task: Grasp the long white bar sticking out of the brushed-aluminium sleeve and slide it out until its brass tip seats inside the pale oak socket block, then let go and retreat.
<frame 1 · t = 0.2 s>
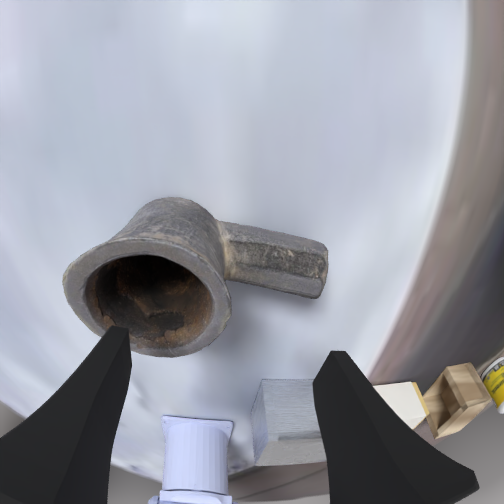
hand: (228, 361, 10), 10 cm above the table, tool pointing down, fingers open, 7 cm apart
socket: (444, 382, 32), on the table
sleeve: (301, 397, 29), on the table
pipe: (214, 227, 19), on the table
long white bar: (351, 416, 28), point 3 cm above the table, slide at 0.0 cm
supplement bottle: (492, 366, 33), on the table
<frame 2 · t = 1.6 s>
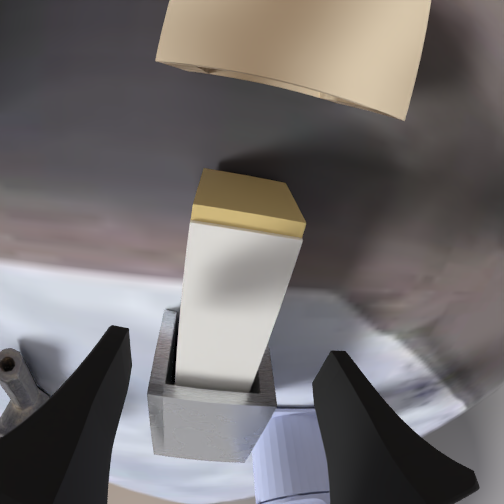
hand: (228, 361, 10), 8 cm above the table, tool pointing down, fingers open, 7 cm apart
socket: (276, 36, 12), on the table
sleeve: (208, 356, 22), on the table
pipe: (31, 380, 24), on the table
long white bar: (216, 337, 17), point 3 cm above the table, slide at 0.0 cm
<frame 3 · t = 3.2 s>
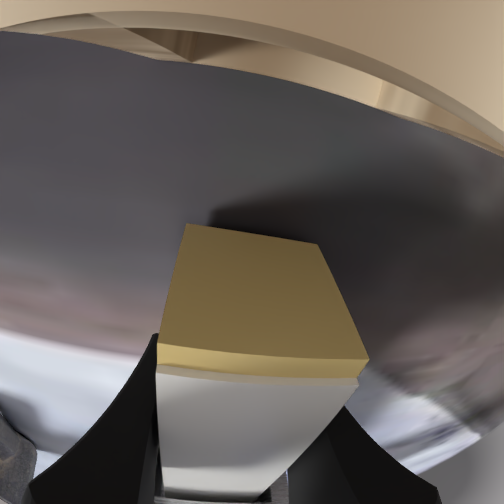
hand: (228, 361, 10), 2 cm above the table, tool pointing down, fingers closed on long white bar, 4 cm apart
socket: (307, 2, 6), on the table
sleeve: (205, 430, 16), on the table
pipe: (11, 425, 18), on the table
long white bar: (214, 437, 11), point 3 cm above the table, slide at 0.0 cm, touching gripper
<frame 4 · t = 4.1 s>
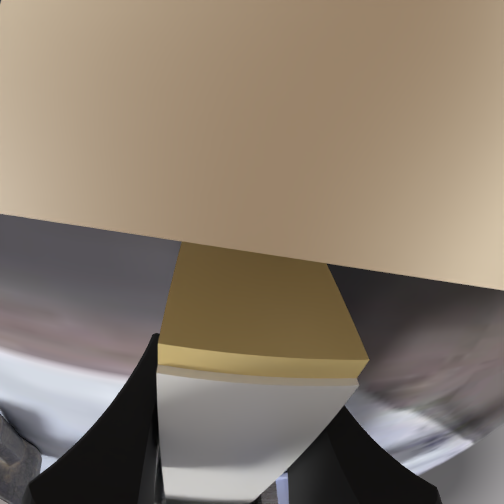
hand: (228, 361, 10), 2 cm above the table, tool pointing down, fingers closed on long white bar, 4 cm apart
socket: (295, 54, 7), on the table
sleeve: (202, 440, 17), on the table
pipe: (17, 431, 19), on the table
long white bar: (214, 437, 11), point 3 cm above the table, slide at 1.7 cm, touching gripper
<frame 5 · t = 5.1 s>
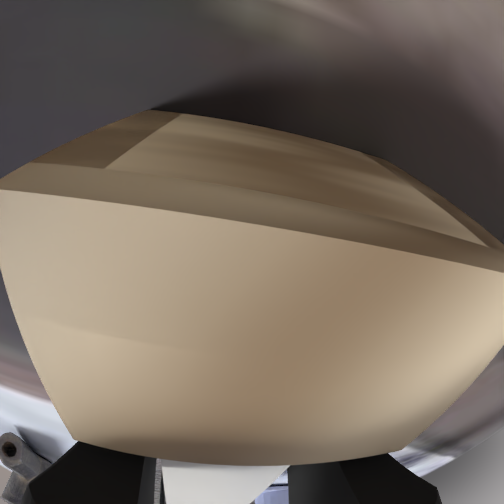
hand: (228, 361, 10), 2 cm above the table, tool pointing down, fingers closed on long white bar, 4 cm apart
socket: (256, 210, 9), on the table
sleeve: (197, 462, 19), on the table
pipe: (32, 449, 21), on the table
long white bar: (214, 437, 11), point 3 cm above the table, slide at 6.4 cm, touching gripper
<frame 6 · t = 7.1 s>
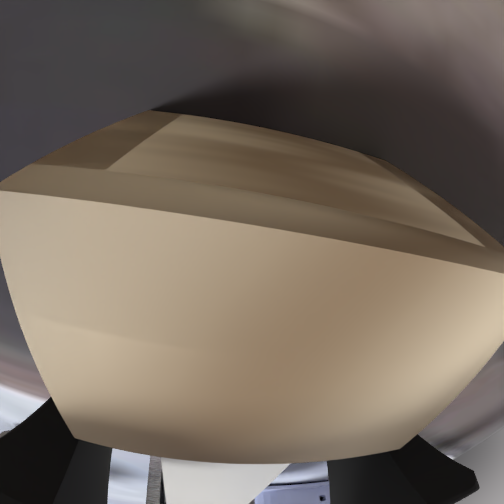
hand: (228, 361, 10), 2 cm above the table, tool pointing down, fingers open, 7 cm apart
socket: (256, 210, 9), on the table
sleeve: (197, 461, 19), on the table
long white bar: (214, 436, 11), point 3 cm above the table, slide at 6.4 cm
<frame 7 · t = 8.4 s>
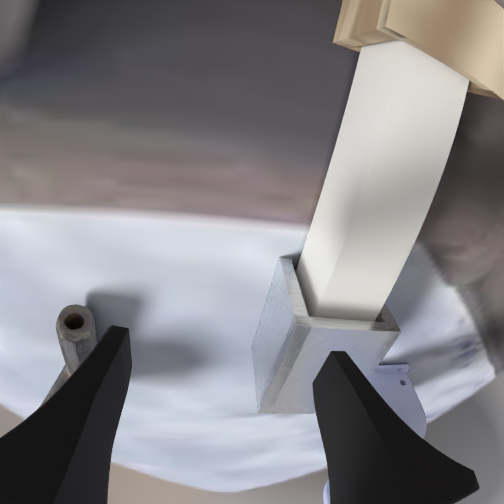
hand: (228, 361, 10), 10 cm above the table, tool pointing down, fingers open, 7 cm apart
socket: (395, 29, 13), on the table
sleeve: (307, 307, 23), on the table
pipe: (87, 347, 25), on the table
long white bar: (379, 175, 15), point 3 cm above the table, slide at 6.4 cm
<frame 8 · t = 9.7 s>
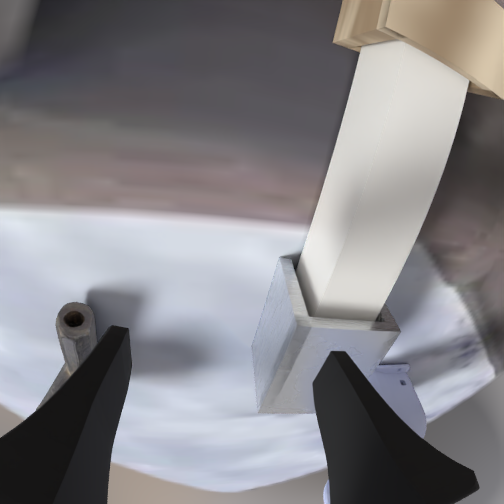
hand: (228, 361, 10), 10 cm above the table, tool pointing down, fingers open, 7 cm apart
socket: (395, 29, 13), on the table
sleeve: (307, 307, 23), on the table
pipe: (87, 345, 25), on the table
long white bar: (379, 175, 15), point 3 cm above the table, slide at 6.4 cm
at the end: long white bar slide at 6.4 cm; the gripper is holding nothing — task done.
